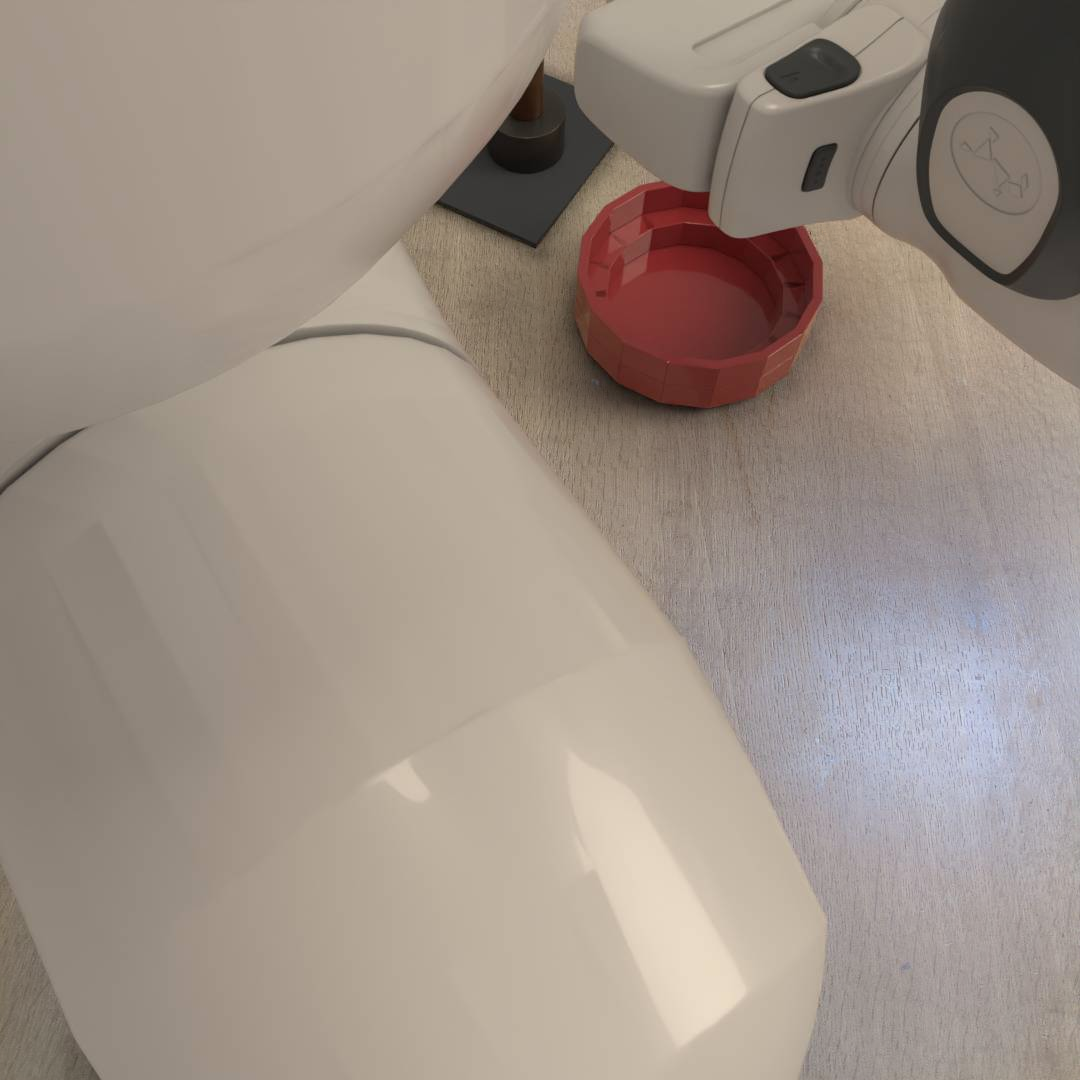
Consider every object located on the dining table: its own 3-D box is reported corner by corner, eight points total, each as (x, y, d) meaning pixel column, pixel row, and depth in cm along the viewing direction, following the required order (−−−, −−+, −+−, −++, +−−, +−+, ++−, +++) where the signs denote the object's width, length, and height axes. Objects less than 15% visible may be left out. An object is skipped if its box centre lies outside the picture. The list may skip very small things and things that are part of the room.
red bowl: (746, 450, 60) (762, 406, 56) (533, 350, 63) (534, 301, 59) (839, 284, 65) (860, 234, 61) (640, 200, 68) (647, 146, 64)
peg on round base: (540, 184, 68) (545, -85, 52) (473, 155, 69) (457, -117, 53) (577, 136, 70) (594, -137, 54) (512, 108, 71) (509, -168, 55)
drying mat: (535, 247, 66) (535, 243, 66) (405, 189, 68) (404, 184, 68) (635, 115, 72) (636, 110, 71) (511, 64, 74) (511, 60, 74)
